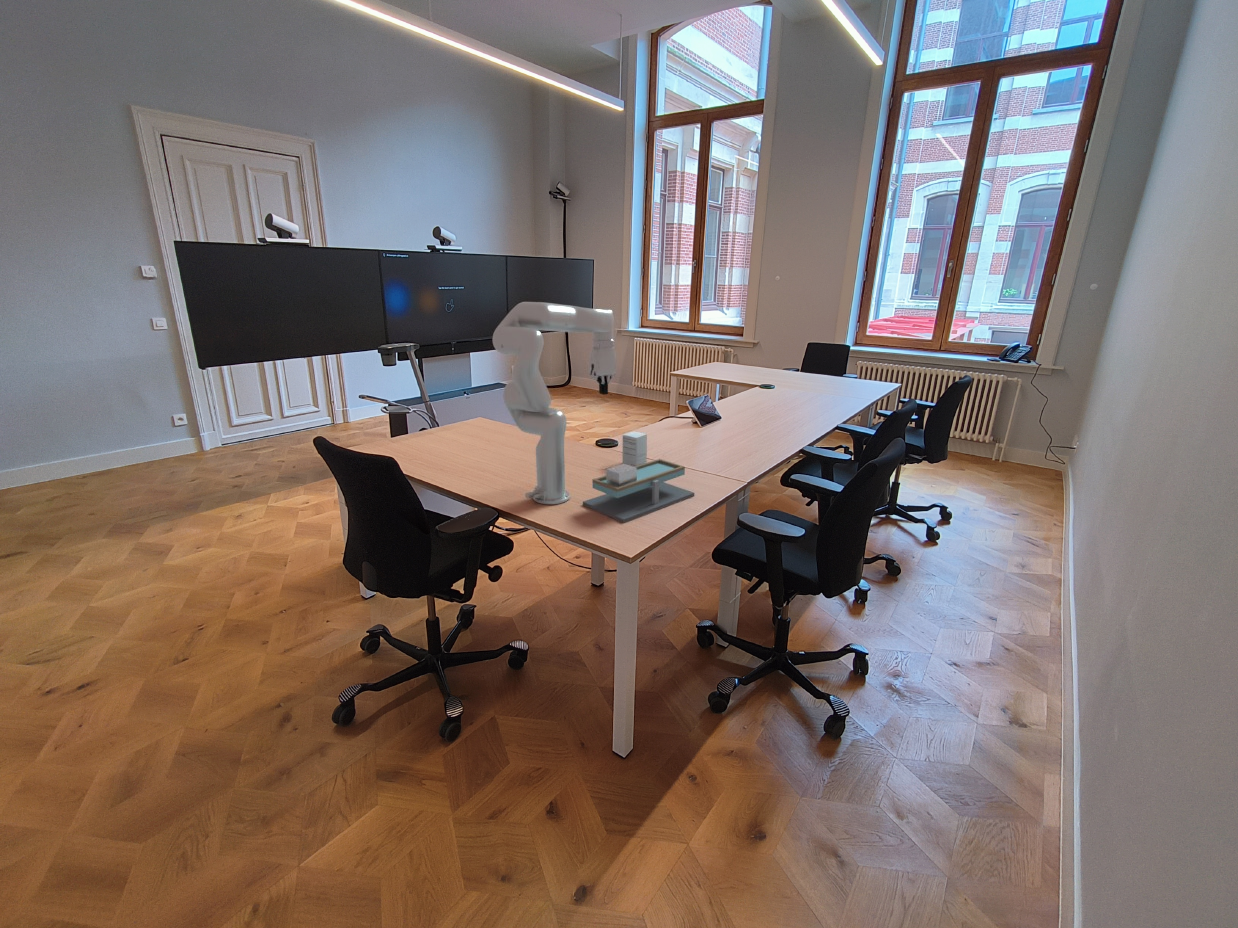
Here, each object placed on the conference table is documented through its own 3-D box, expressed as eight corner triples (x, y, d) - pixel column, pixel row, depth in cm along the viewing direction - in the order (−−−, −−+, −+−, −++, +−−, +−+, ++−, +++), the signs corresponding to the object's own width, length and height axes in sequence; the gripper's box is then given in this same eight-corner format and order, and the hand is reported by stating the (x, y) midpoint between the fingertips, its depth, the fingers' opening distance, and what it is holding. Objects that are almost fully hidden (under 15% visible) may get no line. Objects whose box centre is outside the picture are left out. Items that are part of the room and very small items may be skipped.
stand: (623, 522, 174) (624, 495, 171) (582, 504, 188) (582, 479, 185) (694, 495, 196) (695, 471, 193) (652, 481, 210) (653, 458, 207)
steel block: (619, 488, 177) (619, 473, 176) (606, 483, 182) (606, 469, 180) (636, 482, 183) (636, 467, 181) (623, 477, 187) (623, 463, 185)
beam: (617, 497, 175) (617, 489, 174) (592, 488, 183) (592, 479, 182) (684, 474, 196) (684, 466, 195) (659, 466, 204) (659, 458, 203)
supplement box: (632, 459, 235) (633, 430, 231) (647, 463, 231) (647, 433, 227) (621, 464, 230) (621, 434, 226) (636, 467, 225) (636, 437, 221)
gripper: (611, 342, 211) (612, 390, 217) (580, 345, 202) (581, 395, 208) (625, 343, 206) (625, 392, 212) (593, 347, 197) (594, 398, 203)
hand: (603, 393), depth 210 cm, fingers closed
